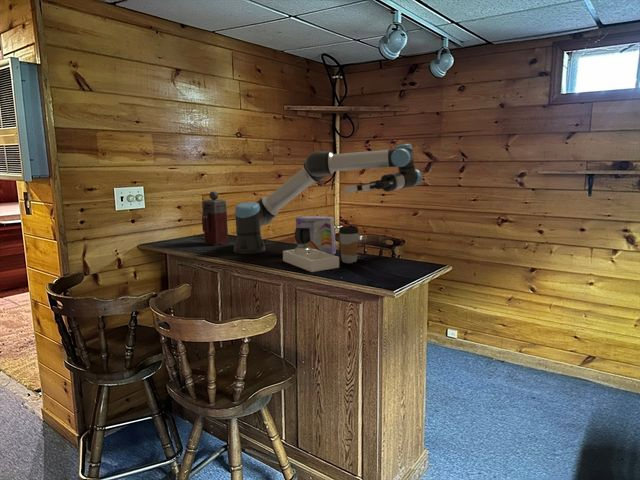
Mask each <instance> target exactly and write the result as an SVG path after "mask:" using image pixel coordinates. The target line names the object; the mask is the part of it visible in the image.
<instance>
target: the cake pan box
mask: <svg viewBox="0 0 640 480" xmlns="http://www.w3.org/2000/svg"><path fill="white" fill-rule="evenodd" d="M335 231H336V230H335V217H334V216H322V215H314V216H313V215H311V216H310V215H308V216H307V215H299V216H297V217H295V230H294V239H295V242H296V244H297V245H296V246H297V247H311V248H312V249H315V250H318V251H322V252H325V253H328V254H332V255H335V254H336V253H337V250H336V246H337V245H336V235H335V234H336V233H335Z"/></svg>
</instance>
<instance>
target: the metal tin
mask: <svg viewBox="0 0 640 480" xmlns="http://www.w3.org/2000/svg"><path fill="white" fill-rule="evenodd" d="M294 249H295V254H296V255H303V254H310V253H311V247H294Z"/></svg>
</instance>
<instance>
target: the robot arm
mask: <svg viewBox="0 0 640 480" xmlns="http://www.w3.org/2000/svg"><path fill="white" fill-rule="evenodd" d="M414 160H415V158H414V150H413V146H412V144H411V143H403V144H400V145H396V146H395V148H393V149H382V150H371V151H370V150H369V151H357V152H356V151H355V152H346V153H344V152H343V153H333V152H331V151H327V150H322V151H321V150H320V151H319V150H317V151H312V152H311V153H309V154H308V156H306V159H305V162H304V163H302V168H301V169H300V170H299V171H298V172H296V173H295V174H294V175H293V176H291V177H290V178H289V179H287V180H286V181H285V182H284V183H283V184H281V185H280V186H279V187H278V188H277V189H275V190H274V191H273V192H272V193H270V194H269V195H268V196H266V195H265V196H262V197H260V199H259V200H257V201H249V202H247V201H246V202H241V203H239V204H237V205H236V206H235V211H234V215H235V230H236V232H235V233H236V237H235V241H234V245H233V253H234V252H235V253H234V254H237V253H238V254H237V255H252V254H261V253H264V252H265V251H266V246H265V243H264V240H263V237H262V233H261V231H262V230H261V227H262V226H267V225H268V224H270V223H271V222H272V221H273V219H274V218H275V217H277V215H279V210H280V209H281V208H283V207H284V206H286V205H287V204H288V203H289V202H291V201H292V200H293V199H295V198H296V197H297V196H298V195H299V194H300V193H302V192H303V191H305V190H306V189H308V187H310V186H311V185H312V184H314V183H317V184H318V183H320V182H321V181H322V180H323V179H325V178H326V177H328V176H331V175H332V174H334V172H343V171H355V170H366V169H367V170H368V169H369V170H370V169H381V168H396V167H398V168H397V169H398V172H393V173H389V174H384V175H382V176H381V178H380V179H377V180H375V181H370V182H368V183H363V184H357V185H355V184H354V185H350V186H347V187H343V192H344V194H350V193H358V192H359V191H362V193H363V192H369V191H374V190H375V191H376V190H383V191H384V192H393V191H397V192H398V191H400V190H402V189H407V188H412V187H414V186H415V187H416V186H419V185H420V184H421V182H422V179H423V175H422V173H421V171H420V170H419V169H416V166H415V165H416V164H415V161H414Z"/></svg>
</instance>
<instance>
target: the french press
mask: <svg viewBox="0 0 640 480" xmlns="http://www.w3.org/2000/svg"><path fill="white" fill-rule="evenodd" d="M208 196H209V199H207V200H206V199H205V200H203V201H202V202H201V205H202V212H201V213H202V214H201V226H202V232H203V234H204V235H203V236H204V244H205V243H207V244H222V243H226V242H228V243H229V228H228V211H227V200H225V199H218V197H219V193H218V192H217V191H215V190H213V191H210V193H209V195H208ZM226 244H227V243H226ZM222 245H223V244H222Z"/></svg>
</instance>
